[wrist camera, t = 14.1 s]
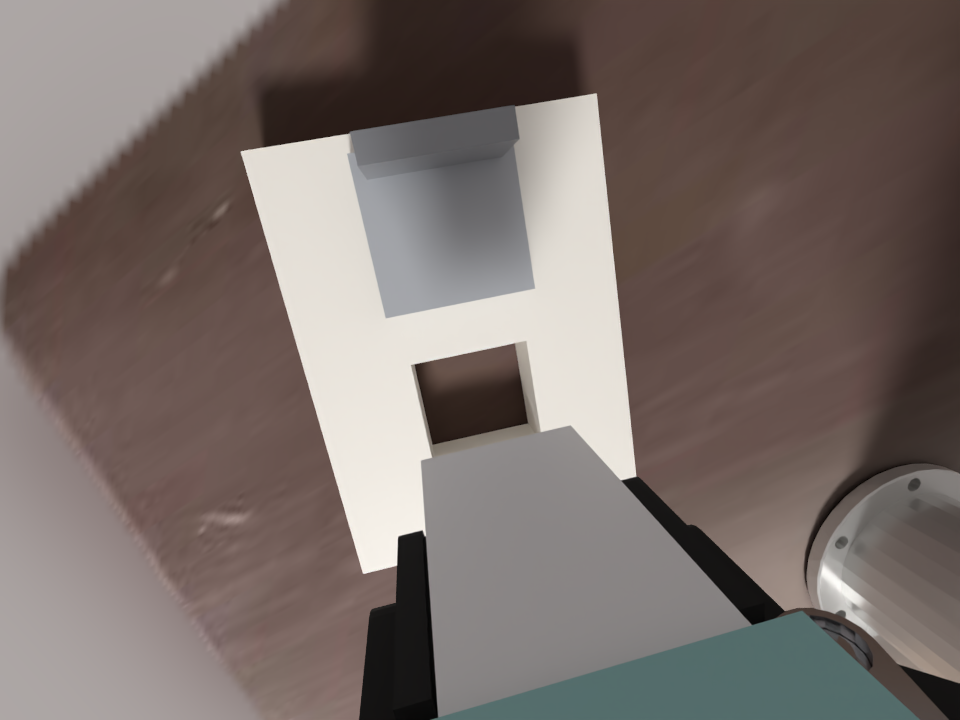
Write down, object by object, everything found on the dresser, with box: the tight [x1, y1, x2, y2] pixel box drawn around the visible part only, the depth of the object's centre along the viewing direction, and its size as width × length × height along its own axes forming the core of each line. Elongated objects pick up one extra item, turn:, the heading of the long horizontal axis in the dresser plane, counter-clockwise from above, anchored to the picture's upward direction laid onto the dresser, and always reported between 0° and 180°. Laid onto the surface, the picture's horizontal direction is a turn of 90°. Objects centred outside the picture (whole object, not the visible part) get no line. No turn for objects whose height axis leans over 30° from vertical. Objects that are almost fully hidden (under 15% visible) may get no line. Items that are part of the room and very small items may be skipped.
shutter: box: [347, 105, 535, 318], centre depth 17 cm, size 6×6×4 cm
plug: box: [421, 425, 920, 720], centre depth 8 cm, size 5×5×10 cm
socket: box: [241, 93, 636, 574], centre depth 22 cm, size 19×14×3 cm
